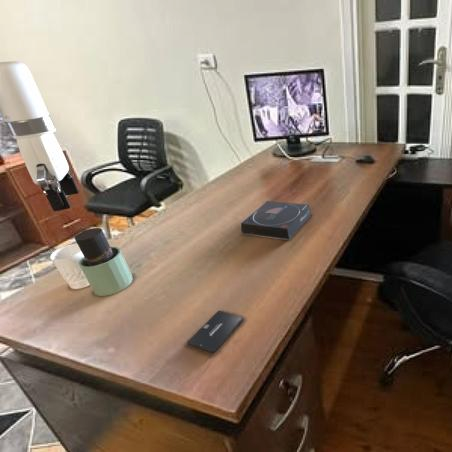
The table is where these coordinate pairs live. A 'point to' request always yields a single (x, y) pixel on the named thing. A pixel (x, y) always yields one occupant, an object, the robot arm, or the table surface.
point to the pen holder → (108, 274)
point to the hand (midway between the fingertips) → (67, 201)
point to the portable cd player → (276, 220)
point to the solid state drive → (215, 332)
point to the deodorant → (94, 246)
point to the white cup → (70, 265)
